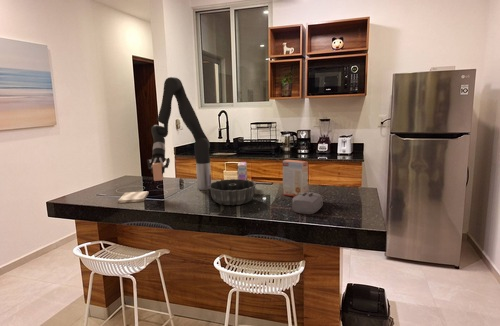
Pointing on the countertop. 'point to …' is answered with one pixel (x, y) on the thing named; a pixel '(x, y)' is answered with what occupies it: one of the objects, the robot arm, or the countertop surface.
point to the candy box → (242, 170)
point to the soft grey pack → (307, 203)
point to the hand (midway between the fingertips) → (157, 173)
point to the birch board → (133, 197)
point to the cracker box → (295, 177)
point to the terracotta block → (157, 171)
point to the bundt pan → (232, 191)
